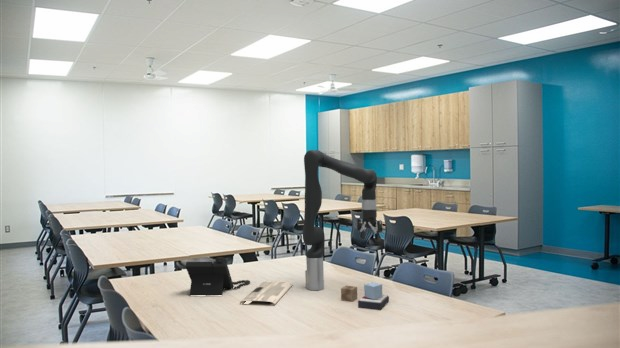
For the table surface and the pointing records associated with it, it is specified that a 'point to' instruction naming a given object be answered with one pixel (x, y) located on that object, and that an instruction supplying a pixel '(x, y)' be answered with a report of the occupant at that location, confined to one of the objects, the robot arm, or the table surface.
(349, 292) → the walnut block
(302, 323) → the table surface
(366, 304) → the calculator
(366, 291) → the slate block
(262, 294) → the newspaper
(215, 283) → the office phone
